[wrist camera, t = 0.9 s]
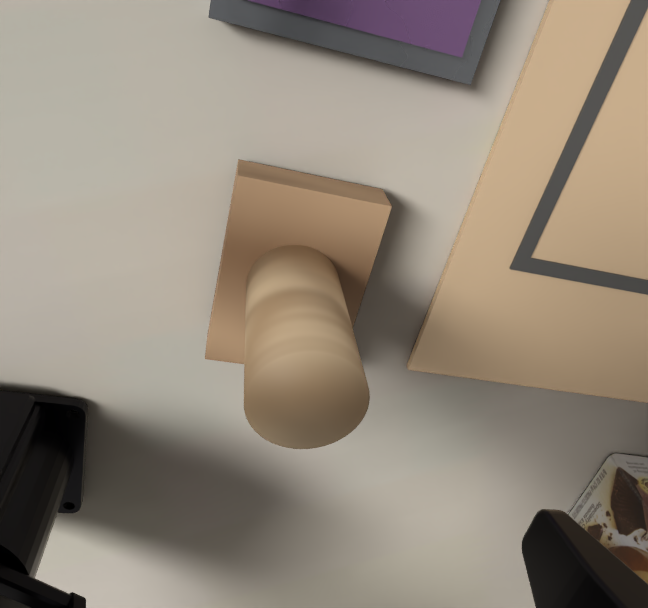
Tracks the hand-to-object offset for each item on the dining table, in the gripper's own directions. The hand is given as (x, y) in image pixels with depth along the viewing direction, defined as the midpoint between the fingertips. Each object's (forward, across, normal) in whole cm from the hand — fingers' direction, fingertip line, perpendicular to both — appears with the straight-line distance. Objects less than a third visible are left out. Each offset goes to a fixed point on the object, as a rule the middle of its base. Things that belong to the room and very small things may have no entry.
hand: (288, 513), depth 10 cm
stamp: (+13, -1, +2) cm, 13 cm away
